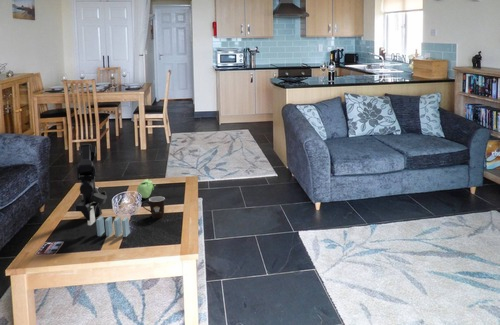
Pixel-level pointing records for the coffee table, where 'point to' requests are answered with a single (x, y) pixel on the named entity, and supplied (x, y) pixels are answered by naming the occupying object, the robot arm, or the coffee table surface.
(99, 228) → the domino
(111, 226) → the domino
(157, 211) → the coffee mug
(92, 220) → the domino
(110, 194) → the coffee table surface
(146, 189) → the green rounded lump
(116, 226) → the domino
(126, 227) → the domino
